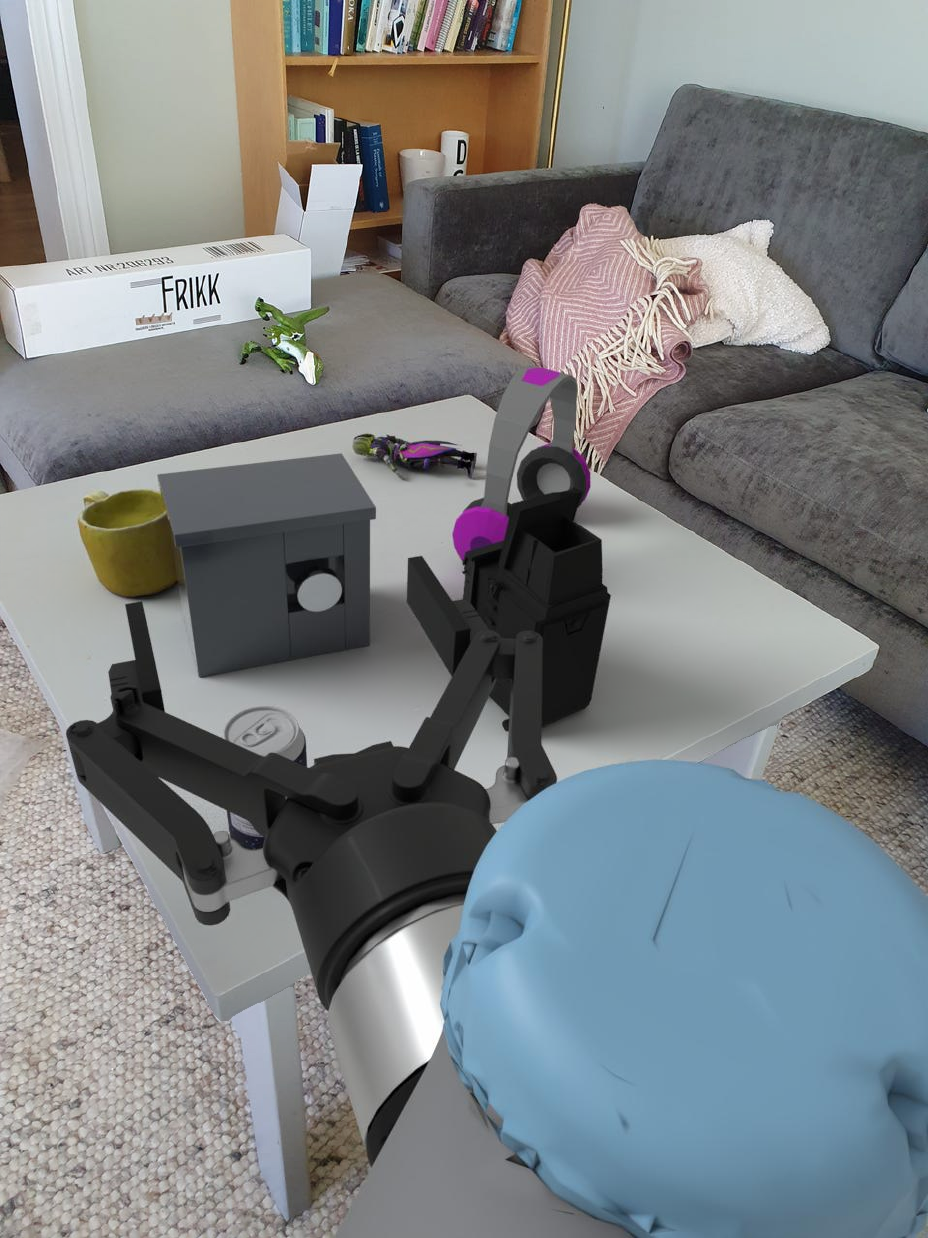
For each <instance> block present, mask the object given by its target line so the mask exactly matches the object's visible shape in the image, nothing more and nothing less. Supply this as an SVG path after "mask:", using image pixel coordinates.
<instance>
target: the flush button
mask: <svg viewBox="0 0 928 1238" xmlns="http://www.w3.org/2000/svg"><path fill="white" fill-rule="evenodd" d="M294 592H295V594H296V597H297V599H298V601H299V603H300V605H301V606H302V607H303V608H305V609H306V610H309V611H313V612H320V611H324V610H327V609H329V608H331V607H332V606H334V605H335V604H336V603H337V602H338V600H339V599H340V597H341V594H342V585H341V583H340V581H339V579H338V577H337V575H336V573H335V572H334V571H333V570H332V569H330V568H328V567H326V566H313V567H310V568H307V569H306V570H304V571H303V572H302V573H300V574H299V576H298V577H297V579H296V581H295V584H294Z"/></svg>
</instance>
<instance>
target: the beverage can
mask: <svg viewBox="0 0 928 1238" xmlns="http://www.w3.org/2000/svg"><path fill="white" fill-rule="evenodd" d="M221 738H223V739H225V740H228V741H230V742H232V743H234V744H236V745H239V746H241V747H243V748H245V749H247V750H250V751H252V752H254V753H256V754H258V755H261V756H267V755H268V754H269V753H272V752H273V753H277V754H279V755H281V756H283V757H286V758H288V759H290V760H292V761H294V762H297V763H299V764H301V765H303V766H306V767H308V757H307V756H308V755H307V739H306V736H305V733H304V732H303V730H302V728H301V727H300V725H299V722H298V720H297V718H296V717H295V716H294V715H293V714H292V713H291V712H289V711H287V710H285V709H284V708H281V707H279V706H278V707H277V706H271V705H259V706H252V707H249V708H246V709H243V710H242V711H239V712H237V713H236V714H234V715H233V716H232V717H231V718H230V719H228V721H227V723H226V724H225V726H224V728H223V733H222V737H221ZM286 799H287V797H286ZM226 816H227V825H228V833H229V836H230V838H232V839H234V840H236V841H237V842H238V843H239V844H240V845H241V847H243V848H245V849H249V850H257V849H261V848H263V844H264V840H265V837H263V836H262V835H260V834H259V833H258V832H257V831H256V830H255V829H254V827H253V826H252V824H251V823H250V822H249V821H247V820H245V819H243V818H241V817H239V816H237V815H235V814H233V813H231V812H229V811H227V810H226Z"/></svg>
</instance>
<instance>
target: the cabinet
mask: <svg viewBox="0 0 928 1238" xmlns="http://www.w3.org/2000/svg"><path fill="white" fill-rule="evenodd" d="M156 476H157V483H158V487H159V491H160V492H161V495H162V499H163V503H164V506H165V510H166V514H167V517H168V521H169V525H170V531H171V538H172V545H173V552H174V559H175V565H176V572H177V579H178V581H177V585H178V593H179V600H180V606H181V613H182V618H183V621H184V625H185V629H186V633H187V636H188V637H187V638H188V641H189V645H190V649H191V653H192V657H193V660H194V663H195V668H196V672H197V676H198V678H204V677H208V676H214V675H219V674H224V673H229V672H234V671H241V670H245V669H251V668H256V667H260V666H265V665H272V664H276V663H277V664H278V663H283V662H288V661H293V660H298V659H304V658H309V657H314V656H319V655H324V654H331V653H335V652H341V651H345V650H351V649H357V648H362V647H363V648H364V647H368V646H371V521H373V520H376V519H377V507H376V505H375V504H374V502H373V500H372V499H371V497H370V496H369V494H368V492H367V491H366V490H365V488H364V486H363V485H362V483H361V482H360V480H359V478H358V477H357V475H356V473H355V472H354V471H353V469H352V467H351V466H350V464H349V462H348V461H347V459H346V458H345V456H344V455H343V453H341V452H340V453H332V454H323V455H322V454H321V455H314V456H307V457H298V458H289V459H279V460H270V461H263V462H254V463H246V464H244V463H243V464H236V465H228V466H219V467H210V468H202V469H193V470H185V471H183V470H182V471H176V472H175V471H174V472H166V473H157V475H156ZM313 566H326V567H328V568H330V569H332V570H333V571H334V572H335V573H336V575H337V577H338V579H339V581H340V583H341V585H342V594H341V597H340V599H339V600H338V602H337V603H336V604H335V605H334V606H332V607H331V608H329V609H327V610H324V611H320V612H313V611H309V610H306V609H305V608H303V607H302V606H301V605H300V603H299V601H298V599H297V597H296V594H295V592H294V584H295V581H296V579H297V577H298V576H299V574H300V573H302V572H303V571H304V570H306V569H307V568H310V567H313Z"/></svg>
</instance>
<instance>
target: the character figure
mask: <svg viewBox="0 0 928 1238" xmlns="http://www.w3.org/2000/svg"><path fill="white" fill-rule="evenodd" d="M385 435H386V436H378V437H377V436H375V435H374V434H373V433H362V434H358V435H356V436H355V437H353V440H352V450H353V452H354V453H355V454H356V455H359V456H363V457H366V458H371V457H373V458H376V459H375V461H377V460H380V461H383V462H385V464H386V465H387V466H388V467H389V468H390V470H391V472H393V473H394V474H395V475H396V476H397V478H399V479H401V480H402V481H406V478H405V475H403V474H402V473H401V472H400V471H399V470H398V469H397V467H396V466H395V464H394V462H397V463H398V464H399V465H400V466H402V467H404V468H407V469H412V468H423V469H424V470H425V469H426V470H429V469H431V468H432V467H435V466H440V467H442V468H444V467H445V465H447V466H454V467H456V469H457V470H458V469H459V470H460V469H461V470H464V471H465V470H466V471H467V472H466V473H467V478H468V479H472V478H473V472H474V469H475V468H476V464H477V456H478V453H477V452H469V451H465V450H461V448H458V447H453V446H458V444H457V443H454V442H449V441H443V440H419V441H412V442H409V441H407V440H404V439H402V438H398V437H396V436H395V435H389V434H385ZM446 445H451V446H452V445H453V446H452V447H451V446H446ZM459 446H463V445H462V444H459ZM459 458H460V459H459ZM393 461H394V462H393Z"/></svg>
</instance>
